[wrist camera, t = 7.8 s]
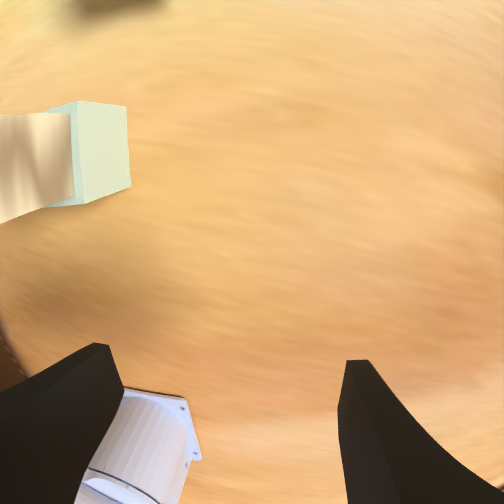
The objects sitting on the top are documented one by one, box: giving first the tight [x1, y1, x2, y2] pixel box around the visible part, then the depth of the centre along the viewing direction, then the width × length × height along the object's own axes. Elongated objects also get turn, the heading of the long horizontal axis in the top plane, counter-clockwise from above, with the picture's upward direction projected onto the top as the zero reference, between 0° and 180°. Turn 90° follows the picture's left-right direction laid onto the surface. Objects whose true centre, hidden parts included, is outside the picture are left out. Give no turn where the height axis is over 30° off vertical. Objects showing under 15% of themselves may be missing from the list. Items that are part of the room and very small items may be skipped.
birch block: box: [0, 113, 75, 224], centre depth 10 cm, size 4×4×5 cm
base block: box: [39, 101, 131, 209], centre depth 15 cm, size 5×5×5 cm
